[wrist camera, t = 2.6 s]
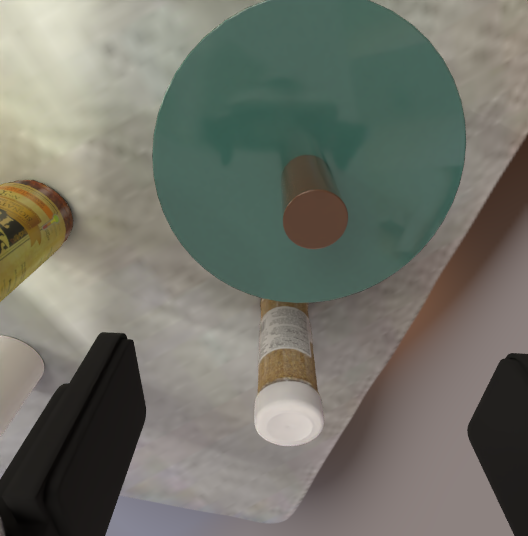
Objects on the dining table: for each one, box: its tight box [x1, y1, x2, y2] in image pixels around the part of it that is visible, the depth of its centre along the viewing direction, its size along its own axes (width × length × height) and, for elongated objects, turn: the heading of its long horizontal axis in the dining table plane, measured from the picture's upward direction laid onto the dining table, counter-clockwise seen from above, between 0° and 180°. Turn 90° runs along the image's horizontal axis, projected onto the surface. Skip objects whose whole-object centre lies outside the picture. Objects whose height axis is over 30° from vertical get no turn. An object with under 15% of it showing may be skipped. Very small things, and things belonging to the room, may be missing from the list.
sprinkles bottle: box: [254, 298, 324, 446], centre depth 30 cm, size 5×5×14 cm
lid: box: [152, 0, 466, 303], centre depth 18 cm, size 16×16×6 cm
